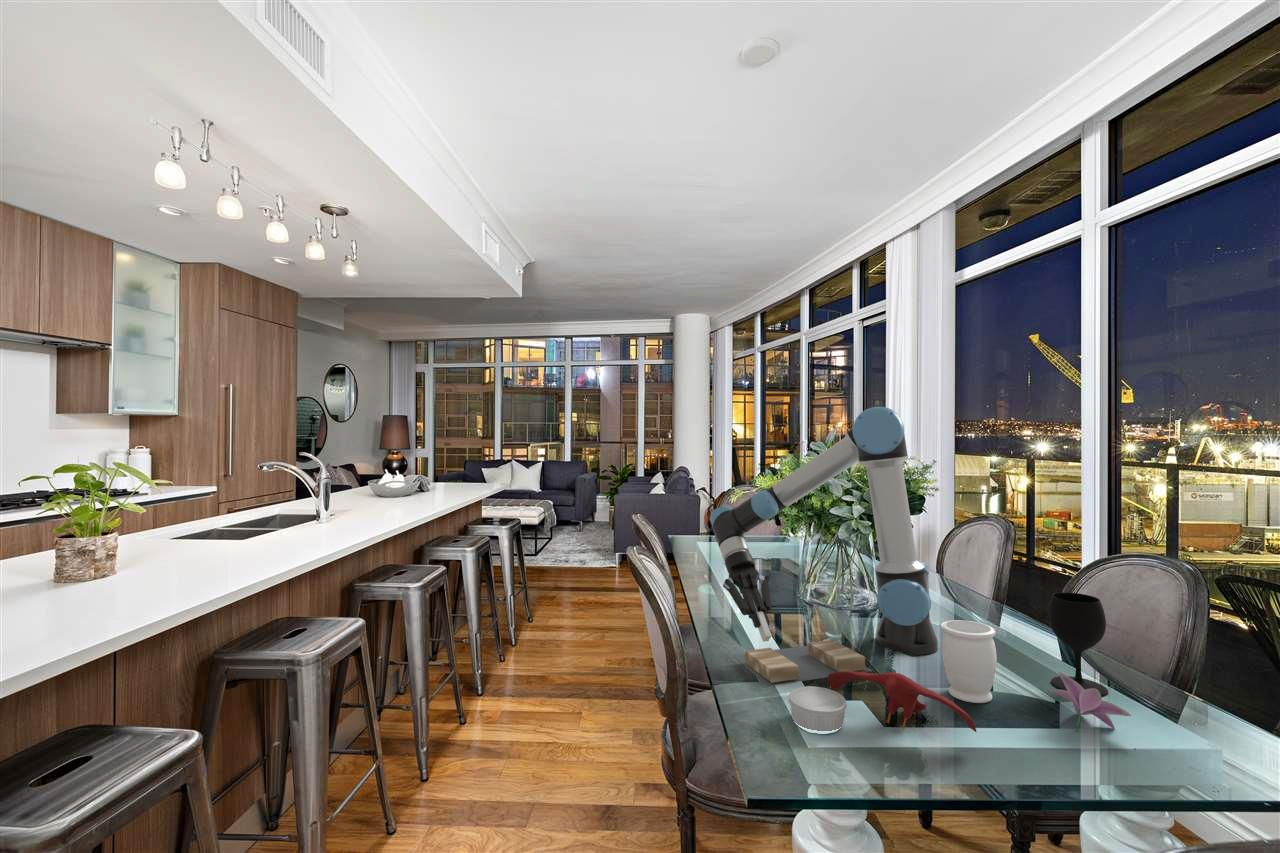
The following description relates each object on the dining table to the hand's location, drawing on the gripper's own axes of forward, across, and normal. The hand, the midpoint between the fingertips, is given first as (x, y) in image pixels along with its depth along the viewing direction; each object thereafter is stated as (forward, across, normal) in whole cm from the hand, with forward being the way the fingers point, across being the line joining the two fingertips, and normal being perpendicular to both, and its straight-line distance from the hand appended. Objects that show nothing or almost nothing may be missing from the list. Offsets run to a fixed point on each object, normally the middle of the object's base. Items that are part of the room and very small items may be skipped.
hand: (767, 638), depth 145 cm
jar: (+24, -36, +12) cm, 45 cm away
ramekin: (+25, +3, +13) cm, 28 cm away
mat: (+5, -9, -7) cm, 12 cm away
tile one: (0, -18, -8) cm, 20 cm away
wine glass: (+27, -61, +15) cm, 69 cm away
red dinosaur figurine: (+28, -13, +17) cm, 35 cm away
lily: (+37, -46, +25) cm, 64 cm away
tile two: (0, 0, -8) cm, 8 cm away
